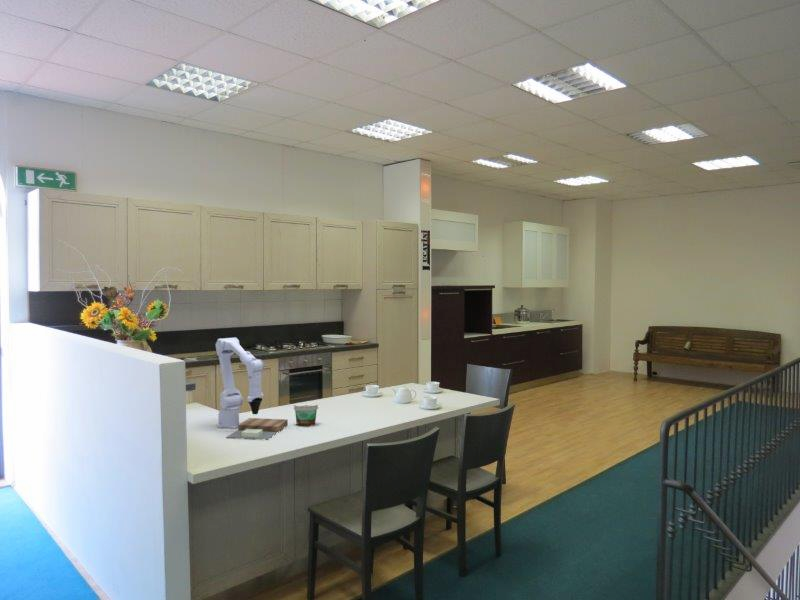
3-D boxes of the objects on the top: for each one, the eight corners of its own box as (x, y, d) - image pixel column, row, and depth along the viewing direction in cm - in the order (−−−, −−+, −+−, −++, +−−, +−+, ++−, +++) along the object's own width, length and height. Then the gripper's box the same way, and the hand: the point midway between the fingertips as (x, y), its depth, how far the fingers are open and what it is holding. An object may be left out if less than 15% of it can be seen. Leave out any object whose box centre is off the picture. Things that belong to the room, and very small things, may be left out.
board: (237, 431, 270) (237, 424, 270) (249, 423, 284) (249, 417, 283) (277, 432, 267) (277, 426, 267) (287, 425, 281) (287, 419, 281)
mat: (226, 438, 257) (226, 437, 257) (237, 431, 269) (237, 430, 269) (267, 440, 255) (267, 439, 255) (277, 433, 266) (277, 432, 266)
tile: (246, 428, 264) (246, 433, 264) (241, 432, 258) (241, 436, 258) (262, 429, 263) (262, 433, 263) (257, 432, 257) (257, 437, 257)
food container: (293, 427, 277) (293, 407, 277) (293, 424, 283) (293, 404, 283) (318, 426, 280) (318, 406, 279) (318, 423, 286) (318, 403, 285)
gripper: (257, 388, 257) (257, 417, 257) (268, 383, 271) (268, 410, 272) (242, 388, 258) (242, 417, 258) (255, 382, 272) (255, 410, 273)
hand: (255, 413), depth 265 cm, fingers closed
